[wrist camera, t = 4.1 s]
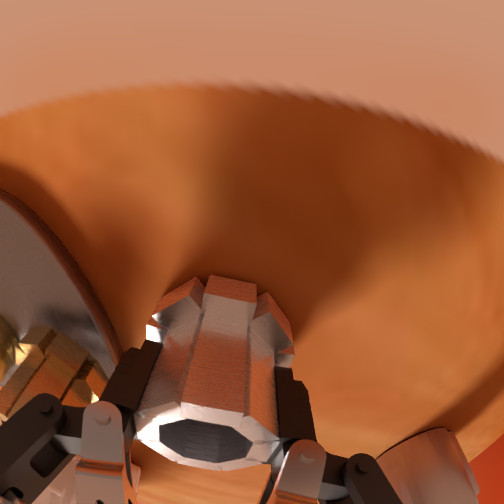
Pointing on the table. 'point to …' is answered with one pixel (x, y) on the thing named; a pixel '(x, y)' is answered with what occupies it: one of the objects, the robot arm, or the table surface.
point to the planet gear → (215, 375)
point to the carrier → (46, 291)
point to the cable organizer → (71, 485)
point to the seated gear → (51, 373)
